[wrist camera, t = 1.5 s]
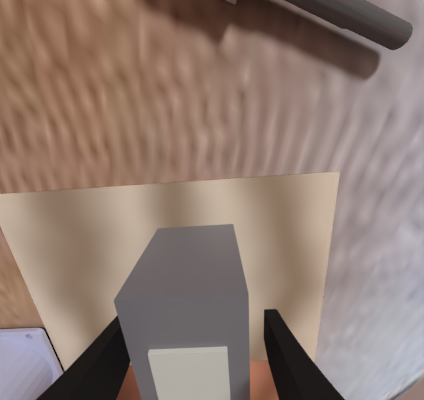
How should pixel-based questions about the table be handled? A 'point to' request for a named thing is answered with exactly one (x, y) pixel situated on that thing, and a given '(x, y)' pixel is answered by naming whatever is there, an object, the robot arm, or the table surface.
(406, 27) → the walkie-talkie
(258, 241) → the subfloor panel
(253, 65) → the table surface
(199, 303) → the block
